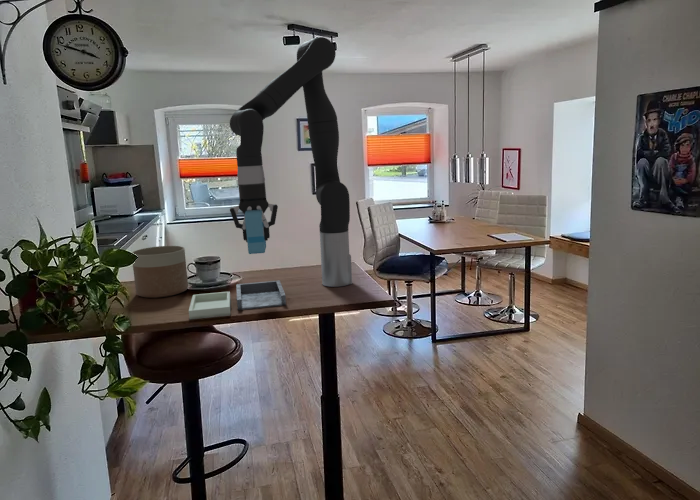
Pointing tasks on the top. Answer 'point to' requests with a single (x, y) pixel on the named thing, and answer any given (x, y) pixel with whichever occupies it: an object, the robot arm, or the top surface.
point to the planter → (160, 271)
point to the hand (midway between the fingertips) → (256, 240)
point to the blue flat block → (255, 232)
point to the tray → (210, 305)
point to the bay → (260, 295)
